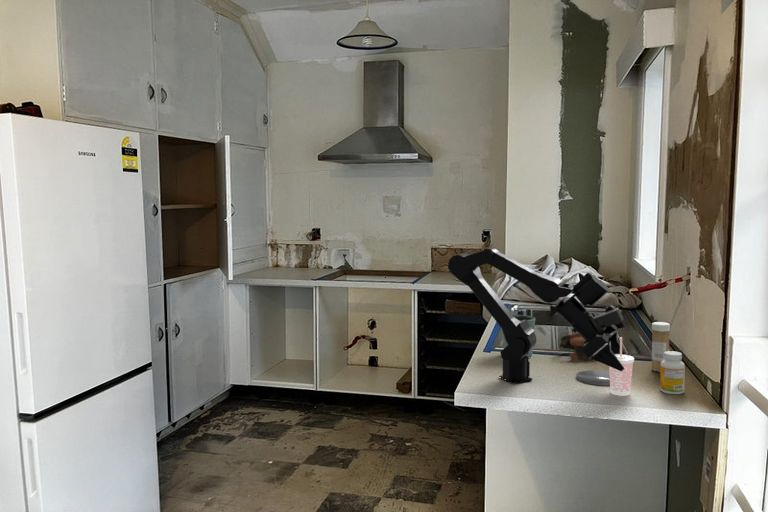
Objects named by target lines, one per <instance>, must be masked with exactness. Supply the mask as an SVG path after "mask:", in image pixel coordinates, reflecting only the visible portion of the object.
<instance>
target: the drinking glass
mask: <svg viewBox="0 0 768 512" xmlns="http://www.w3.org/2000/svg"><path fill="white" fill-rule="evenodd" d="M512 315H513V316H514V317H515V318H516V319H517V320H519V321H520V322H522V321H523V320H526V321H527V322H528V324H529V325H530V327H531V328H532V329H534V330H535V326H536V325H535V324H536V317H535V316H532V315H524V314H512ZM502 341H503V349H504V348H506V347H507V346H508V344H507V342H506V340H505V337H504V334H503V333H502ZM533 348H534V347H533ZM533 348H532V349H531V350H530V351H529V353H528V354H527V355H526V356H528V357H530V356H532V357H533V353H534V351H533V350H534V349H533Z"/></svg>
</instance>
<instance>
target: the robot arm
mask: <svg viewBox="0 0 768 512" xmlns="http://www.w3.org/2000/svg"><path fill="white" fill-rule="evenodd" d="M485 264H487V265H490V266H492V267H494V268H495V269H497V270H499V271H500V272H502V273H503V274H505V275H507V276H509V277H510V278H512V279H515V280H517V281H518V282H520V283H522V284H523V285H525V286H526V287H527V288H528V289H530V291H531V292H532V293H533V294H534V295H535V296H536V297H538V298H539V299H540V300H541V301H544V303H545V302H546V303H550V304H551V303H554V302H556V301H558V300H559V302H557V303H556V305H555V304H552V305H550V306H549V309H550V310H549V317H551V318H553V317H554V316H555V315H557V313H558V314H559V315H560V316H561V317H562V318H563V320H564V321H566V323H567V324H568V325H569V326H570V327H572V329H571V331H572V332H573V333H574V334H579V335H580V336H581V337H582V338H583V339H584V340H585V342H584V343H585V345H584V346H583V347H582V353H583V354H584V355H585V356H586V358H587V359H588V358H589V360H593V361H596V362H598V363H600V364H603V365H606V366H607V367H609V366H610V367H612V368H614V369H617V370H619V371H623V370H624V367H623V365H622V364H621V363H620V361H619V360H618V359H617V357H616V356H615V354H620V340H619V339H618V336H619V330H618V327H617V326H616V325H619V324H621V323H623V321H624V320H625V319H624V316H623V314H622V310H621V309H620V308H619V307H615V306H614V305H609V306H606V307H605V309H604V311H605V312H602V313H600V314H598V315H597V314H596V313H595V312H594V311H593V312H590V311H589V310H588V309H587V308H586V307H585V306H587V307H588V305H589V306H591V307H593V306H594V305H595V304H596V303H597V302H599V301H600V300H601V299H602V298H604V296H606V295H607V294H608V293H609V292H610V288H609V287H608V285H606V283H605V282H604V281H603V280H602V279H600V278H598V277H597V276H595V275H593V273H592V272H591V271H588V272H587V273H586V274H584V275H583V276H582V278H581V279H580V280H579V281H578V282H577V283H575V284H572V283H566V282H563V280H561V279H560V278H558V277H554V276H552V275H550V274H545V273H542V272H538V271H535V270H533V269H531V268H529V267H527V266H526V265H524V264H523V263H520V262H519V261H517V260H515V259H513V258H511V257H510V256H507V255H505V254H504V253H502V252H501V251H499V250H498V249H496V248H494V247H488V248H485V249H484V250H482V251H479V252H475V253H472V254H470V253H467V252H462V253H460V254H455V255H453V256H451V258H450V259H448V265H447V268H448V271H449V273H450V274H451V275H452V276H453V277H455V278H456V279H457V280H458V281H459V282H461V283H462V284H463V285H465V286H467V287H469V289H470V290H471V291H472V293H474V295H475V297H476V298H477V299H478V301H480V303H481V304H482V305H483V307H484V308H485V309H486V310H487V312H488V313H489V314H490V315H491V317H492V318H493V320H494V321H495V322H496V323H497V324H498V325H499V327H500V328H501V331H502V335H503V334H504V337H505V340H506V342H507V344H508V346H507V347H506V348H504V347H503V349H502V350H501V351H500V356H501V359H502V374H501V375H499V376H498V377H501V378H503V379H506V380H507V381H506V382H508V381H509V382H508V383H510V382H511V383H510V384H513V383H515V384H519V383H518V382H520V383H526V382H530V381H531V380H532V381H533V378H532V377H530V373H531V371H530V367H531V366H530V365H531V363H530V360H529V359H530V358H529V357H528V356H526V355H527V354H528V353H529V351H530V350H531V349H532V348H534V347H535V346H536V344H537V336H536V333H535V332H536V330H535V328H534V329H532V328H531V327H530V325H529V324H528V322H527V321H526V320H523V321H522V322H520V321H519V320H517V319H516V318H515V317H514V316H513V315H514V314H512V312H511V311H510V310H509V309H508V307H507V306H506V305H505V304H504V303H503V301H502V300H501V299H500V297H499V296H498V295H497V293H496V292H495V291H494V289H492V287H491V286H490V285H489V284H488V283H487V281H486V280H485V278H484V277H483V275H482V272H481V269H480V267H479V266H484V265H485ZM572 293H574V294H573V295H572V296H570V295H571V294H572ZM568 296H570V297H569V298H568V299H566V298H567V297H568ZM561 298H562V299H561ZM560 299H561V300H560ZM622 355H627V353H626V351H625V349H624V348H623V347H622ZM501 378H500V379H501ZM503 379H502V380H503ZM525 381H526V382H525Z"/></svg>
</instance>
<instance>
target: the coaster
mask: <svg viewBox="0 0 768 512" xmlns="http://www.w3.org/2000/svg"><path fill="white" fill-rule="evenodd" d="M575 377H576V379H577V380H578V381H579V382H582V383H584V384H589V385H593V386H602V387H603V386H606V387H607V386H608V387H610V374H609V370H607V371H606V370H595V369H593V370H592V369H591V370H582V371H579V372H577V373H576V375H575Z"/></svg>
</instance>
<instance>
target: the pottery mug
mask: <svg viewBox="0 0 768 512" xmlns="http://www.w3.org/2000/svg"><path fill="white" fill-rule="evenodd" d="M584 342H585V340H584V339H583V338H582V337H581V336H580V335H579V334H578V333H574V334H569V335H565V336H562V337H561V338H560V344H559V349H561V348H563V349H569V350H574V352H572V353H569V358H570V361H571V360H573V361H578V360H581V361H582V360H583V361H590V357H589V358H588V359H587V358H586V356H585V355H584V354H583V353H582V347H583V346H584V345H585V343H584Z"/></svg>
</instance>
